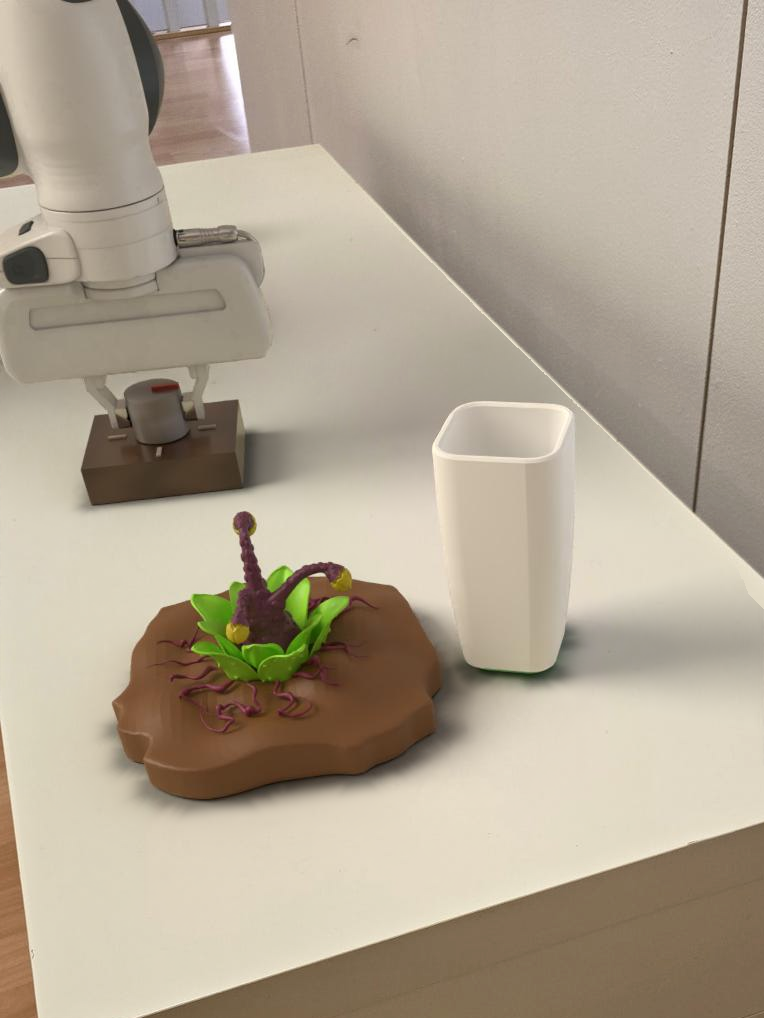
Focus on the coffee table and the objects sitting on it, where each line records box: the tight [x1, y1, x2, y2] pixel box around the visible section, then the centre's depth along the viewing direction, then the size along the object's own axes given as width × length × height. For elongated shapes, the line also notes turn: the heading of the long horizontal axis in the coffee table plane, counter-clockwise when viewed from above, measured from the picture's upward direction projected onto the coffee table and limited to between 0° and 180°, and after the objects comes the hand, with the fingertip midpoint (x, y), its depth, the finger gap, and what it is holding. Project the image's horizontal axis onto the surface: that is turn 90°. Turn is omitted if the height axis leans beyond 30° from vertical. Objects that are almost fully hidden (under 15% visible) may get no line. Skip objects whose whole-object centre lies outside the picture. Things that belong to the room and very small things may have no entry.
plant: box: [111, 510, 443, 800], centre depth 73 cm, size 20×20×11 cm
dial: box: [123, 378, 189, 444], centre depth 97 cm, size 4×4×4 cm
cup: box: [431, 400, 576, 675], centre depth 73 cm, size 7×7×15 cm
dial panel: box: [80, 398, 246, 506], centre depth 99 cm, size 12×10×3 cm
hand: (159, 422), depth 97 cm, fingers closed on dial, 4 cm apart
